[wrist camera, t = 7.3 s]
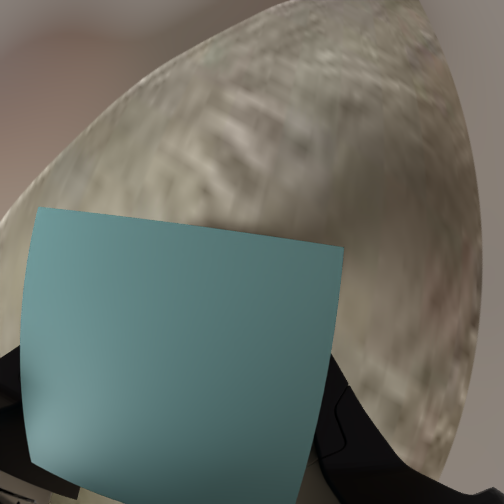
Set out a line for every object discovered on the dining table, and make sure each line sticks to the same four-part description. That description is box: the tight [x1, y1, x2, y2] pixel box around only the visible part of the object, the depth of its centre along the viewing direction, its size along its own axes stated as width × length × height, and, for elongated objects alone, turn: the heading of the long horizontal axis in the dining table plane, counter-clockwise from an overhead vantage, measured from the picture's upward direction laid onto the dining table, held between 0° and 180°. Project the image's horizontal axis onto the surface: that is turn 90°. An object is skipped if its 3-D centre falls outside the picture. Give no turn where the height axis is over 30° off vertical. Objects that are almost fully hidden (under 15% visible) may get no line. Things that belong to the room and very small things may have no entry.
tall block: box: [20, 207, 344, 504], centre depth 9 cm, size 4×4×12 cm
